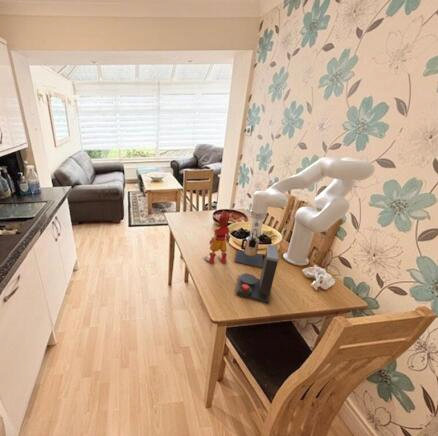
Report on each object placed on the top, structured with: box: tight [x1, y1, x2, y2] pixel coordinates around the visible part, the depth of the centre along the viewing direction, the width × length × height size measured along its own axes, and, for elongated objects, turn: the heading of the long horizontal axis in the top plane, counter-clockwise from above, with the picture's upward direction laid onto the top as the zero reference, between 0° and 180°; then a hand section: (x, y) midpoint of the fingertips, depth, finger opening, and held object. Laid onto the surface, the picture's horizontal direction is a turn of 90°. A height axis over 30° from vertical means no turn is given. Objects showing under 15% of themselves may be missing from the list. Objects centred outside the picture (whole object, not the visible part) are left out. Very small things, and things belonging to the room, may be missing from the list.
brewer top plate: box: [234, 249, 264, 269], centre depth 136 cm, size 14×14×1 cm
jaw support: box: [301, 264, 336, 291], centre depth 114 cm, size 12×9×10 cm
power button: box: [242, 284, 249, 291], centre depth 109 cm, size 3×3×2 cm
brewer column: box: [239, 244, 280, 296], centre depth 108 cm, size 13×13×19 cm
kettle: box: [240, 235, 260, 256], centre depth 132 cm, size 9×8×11 cm
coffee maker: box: [236, 277, 269, 305], centre depth 112 cm, size 15×13×3 cm
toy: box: [204, 209, 231, 264], centre depth 129 cm, size 12×9×30 cm
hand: (252, 243), depth 132 cm, fingers closed on kettle, 6 cm apart
